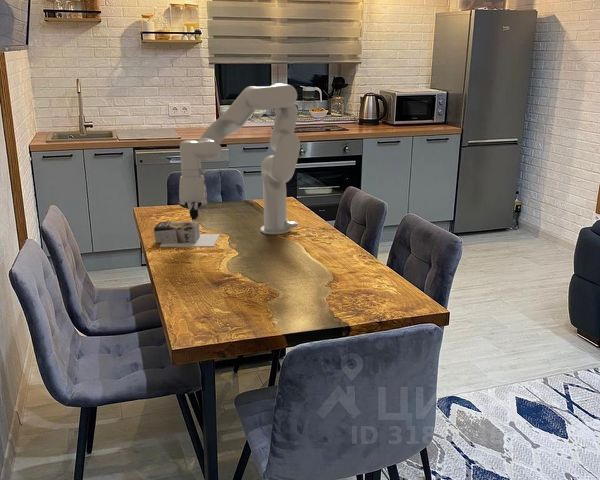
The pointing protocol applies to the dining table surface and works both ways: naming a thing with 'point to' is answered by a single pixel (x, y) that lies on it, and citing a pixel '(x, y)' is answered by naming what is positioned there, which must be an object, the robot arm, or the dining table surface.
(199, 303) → the dining table surface
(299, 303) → the dining table surface
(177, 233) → the coffee box
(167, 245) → the mat
